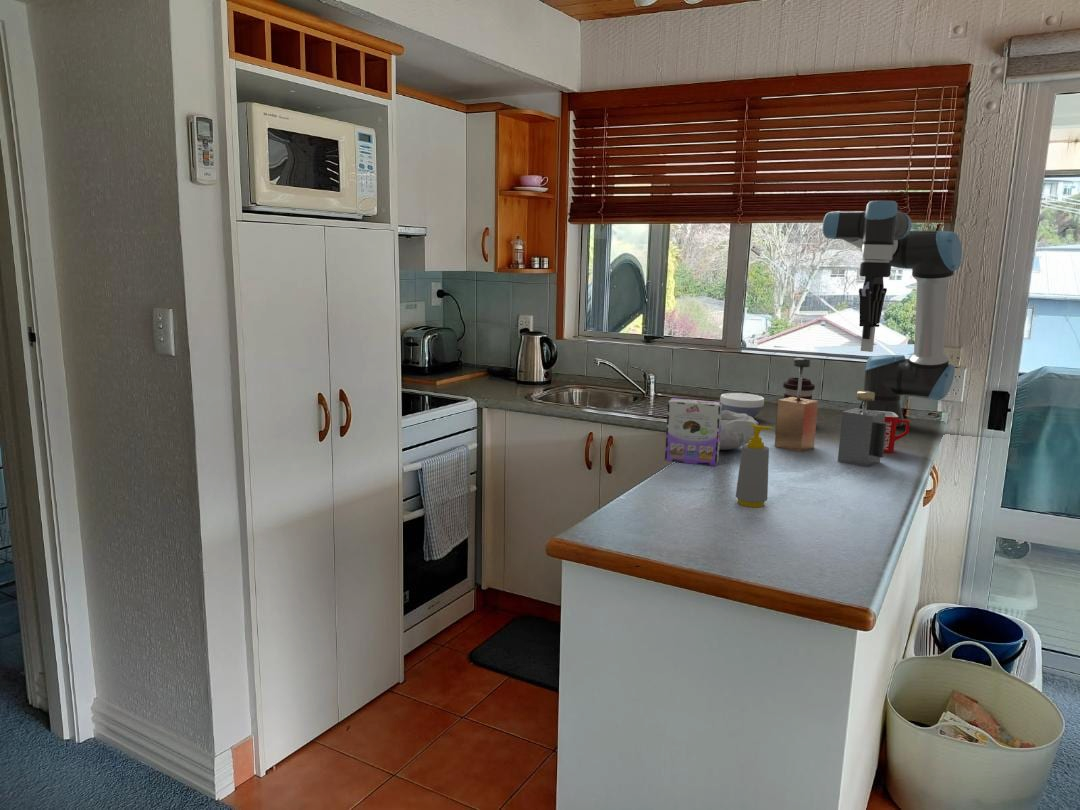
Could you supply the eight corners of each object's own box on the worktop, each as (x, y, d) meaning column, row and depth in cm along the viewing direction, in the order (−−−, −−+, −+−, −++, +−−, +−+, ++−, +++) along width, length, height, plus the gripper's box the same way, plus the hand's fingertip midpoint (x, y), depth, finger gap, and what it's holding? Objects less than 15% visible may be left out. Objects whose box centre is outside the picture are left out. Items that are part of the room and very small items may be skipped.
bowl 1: (768, 418, 276) (770, 396, 274) (754, 425, 263) (756, 402, 262) (727, 412, 283) (728, 391, 282) (712, 419, 271) (714, 397, 270)
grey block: (850, 456, 225) (855, 408, 222) (887, 463, 218) (892, 413, 215) (837, 461, 219) (842, 411, 217) (874, 468, 212) (880, 417, 210)
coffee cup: (812, 427, 262) (817, 382, 259) (781, 425, 264) (785, 380, 261) (809, 421, 272) (813, 377, 269) (778, 419, 274) (782, 375, 271)
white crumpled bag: (685, 437, 242) (687, 405, 240) (755, 442, 238) (757, 409, 236) (683, 454, 222) (685, 418, 220) (759, 460, 218) (762, 424, 216)
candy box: (719, 461, 215) (723, 401, 212) (716, 466, 210) (720, 405, 207) (667, 456, 220) (671, 396, 216) (663, 461, 214) (667, 400, 211)
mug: (865, 451, 231) (868, 415, 229) (860, 445, 239) (863, 410, 237) (909, 454, 229) (913, 418, 227) (902, 448, 237) (907, 412, 235)
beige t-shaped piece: (853, 450, 223) (859, 389, 220) (874, 454, 219) (881, 392, 216) (844, 454, 219) (850, 391, 216) (865, 458, 215) (872, 395, 212)
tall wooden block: (781, 440, 242) (785, 395, 239) (813, 447, 235) (818, 400, 232) (768, 444, 236) (772, 398, 233) (800, 451, 229) (805, 404, 226)
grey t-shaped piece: (792, 415, 237) (797, 357, 234) (811, 418, 233) (816, 359, 230) (782, 417, 233) (787, 358, 230) (801, 420, 229) (807, 361, 225)
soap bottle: (762, 510, 175) (768, 429, 171) (730, 504, 178) (737, 425, 175) (771, 502, 180) (777, 424, 177) (740, 496, 184) (746, 420, 181)
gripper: (871, 261, 217) (862, 348, 222) (851, 260, 208) (842, 351, 212) (900, 262, 212) (890, 350, 217) (880, 261, 203) (870, 354, 207)
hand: (866, 351), depth 215 cm, fingers closed
